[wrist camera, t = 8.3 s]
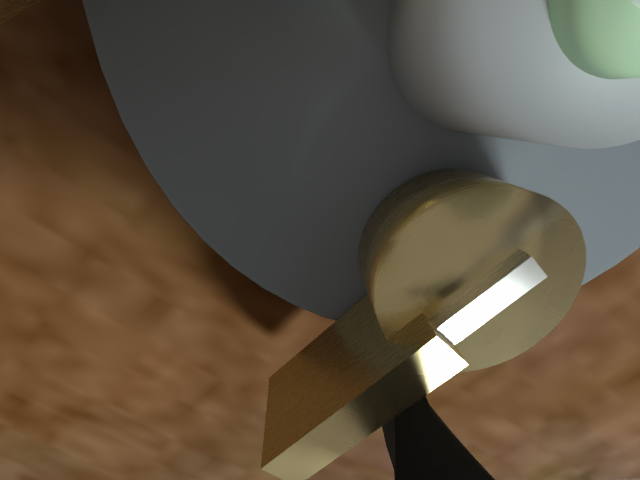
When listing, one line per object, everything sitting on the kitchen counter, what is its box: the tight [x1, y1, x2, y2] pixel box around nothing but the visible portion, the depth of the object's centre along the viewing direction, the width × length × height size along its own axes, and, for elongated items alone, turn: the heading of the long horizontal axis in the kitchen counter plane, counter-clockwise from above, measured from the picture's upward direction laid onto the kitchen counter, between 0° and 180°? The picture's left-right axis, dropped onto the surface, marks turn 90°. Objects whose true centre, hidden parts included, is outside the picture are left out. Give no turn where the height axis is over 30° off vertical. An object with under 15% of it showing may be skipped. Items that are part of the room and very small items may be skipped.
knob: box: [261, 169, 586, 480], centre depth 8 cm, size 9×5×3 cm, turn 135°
